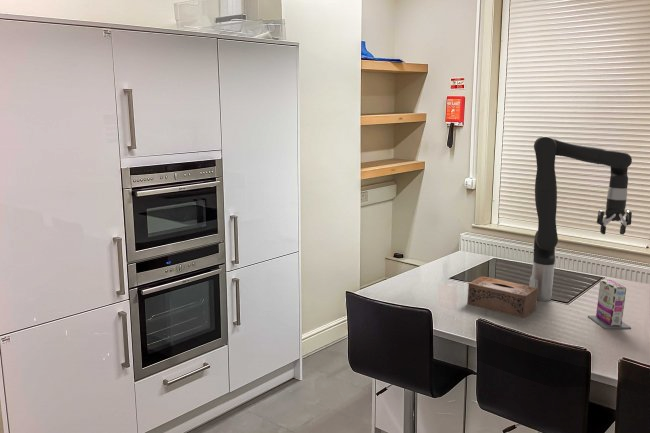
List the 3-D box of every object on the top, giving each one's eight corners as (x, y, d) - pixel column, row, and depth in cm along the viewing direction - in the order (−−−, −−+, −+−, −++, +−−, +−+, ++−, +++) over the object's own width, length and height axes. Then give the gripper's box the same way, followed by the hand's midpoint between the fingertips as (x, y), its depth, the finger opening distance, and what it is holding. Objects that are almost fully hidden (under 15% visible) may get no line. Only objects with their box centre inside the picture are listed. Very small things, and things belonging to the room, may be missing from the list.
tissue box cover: (467, 304, 249) (468, 283, 247) (480, 296, 260) (482, 276, 258) (524, 318, 233) (526, 296, 231) (535, 309, 244) (537, 287, 242)
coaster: (604, 328, 223) (604, 327, 223) (587, 316, 235) (587, 315, 235) (630, 328, 223) (631, 327, 223) (612, 316, 236) (613, 315, 236)
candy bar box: (622, 326, 224) (627, 287, 221) (610, 326, 224) (615, 287, 220) (606, 316, 235) (611, 279, 232) (595, 316, 235) (599, 279, 231)
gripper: (605, 199, 236) (601, 236, 239) (637, 199, 237) (633, 236, 240) (596, 196, 244) (592, 232, 247) (627, 196, 244) (623, 232, 248)
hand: (612, 234), depth 244 cm, fingers open, 8 cm apart
